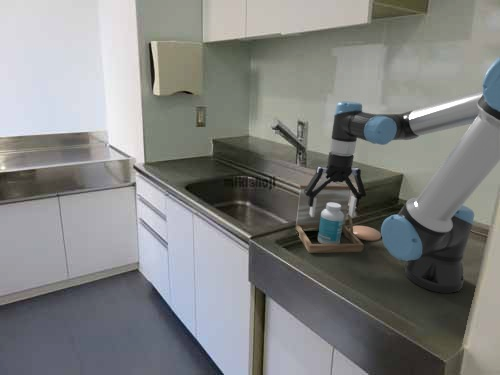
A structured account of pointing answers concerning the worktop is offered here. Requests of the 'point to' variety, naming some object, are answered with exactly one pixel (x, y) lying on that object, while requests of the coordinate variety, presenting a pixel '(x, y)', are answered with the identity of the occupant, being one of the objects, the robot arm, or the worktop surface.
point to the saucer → (366, 233)
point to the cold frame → (306, 221)
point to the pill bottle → (331, 224)
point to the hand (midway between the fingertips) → (331, 215)
